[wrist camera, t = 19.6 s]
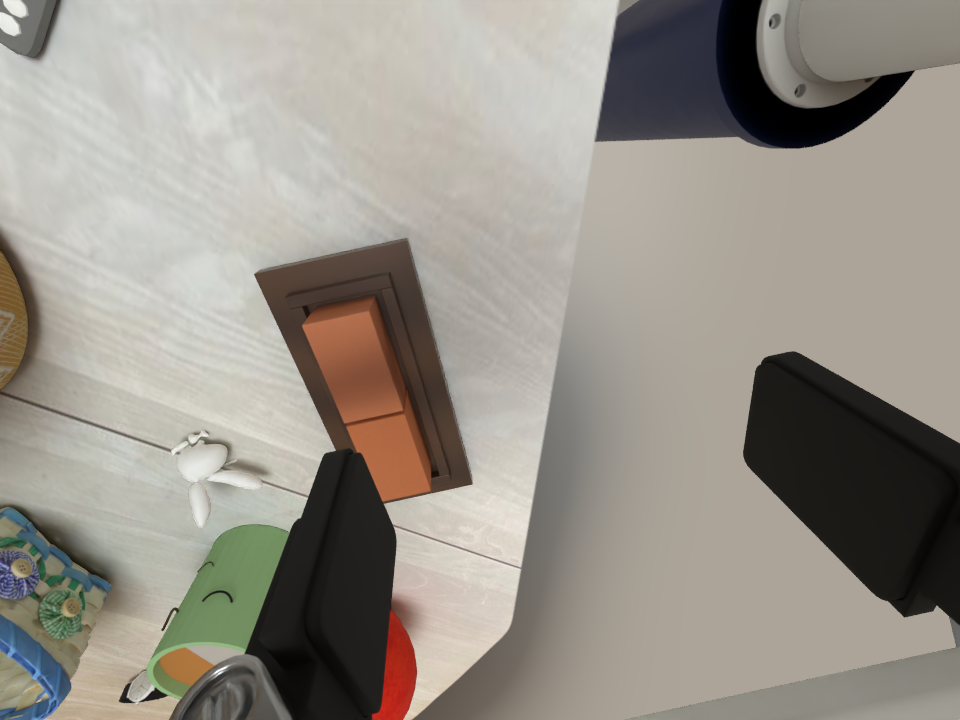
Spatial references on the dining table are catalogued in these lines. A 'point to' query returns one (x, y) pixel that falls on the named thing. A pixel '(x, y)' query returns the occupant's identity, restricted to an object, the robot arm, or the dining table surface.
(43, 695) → the basket
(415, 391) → the board
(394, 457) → the block
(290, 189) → the dining table surface
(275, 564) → the mug
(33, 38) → the key chain
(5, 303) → the planter
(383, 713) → the apple
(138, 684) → the watch
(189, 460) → the rabbit figurine
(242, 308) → the dining table surface
